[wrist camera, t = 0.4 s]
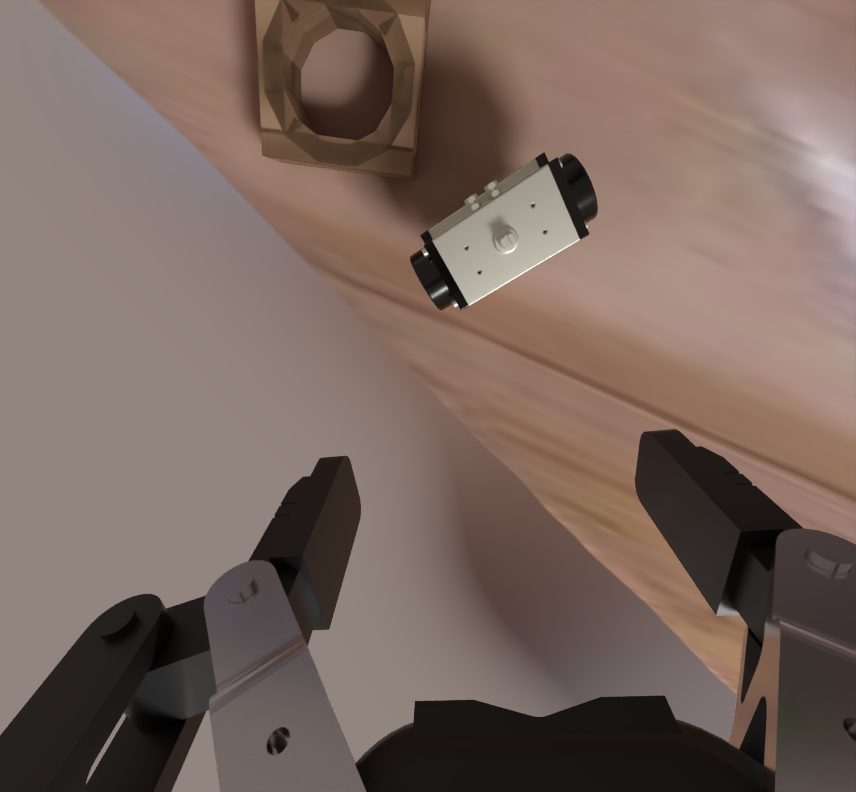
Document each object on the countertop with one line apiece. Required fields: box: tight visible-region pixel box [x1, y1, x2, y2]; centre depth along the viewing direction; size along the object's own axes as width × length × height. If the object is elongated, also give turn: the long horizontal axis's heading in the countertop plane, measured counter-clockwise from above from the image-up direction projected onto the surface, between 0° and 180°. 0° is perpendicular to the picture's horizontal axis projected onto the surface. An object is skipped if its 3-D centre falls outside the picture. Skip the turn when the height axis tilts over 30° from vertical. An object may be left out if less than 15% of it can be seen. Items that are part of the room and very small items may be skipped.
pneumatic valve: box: [410, 153, 598, 310], centre depth 28 cm, size 6×12×12 cm, turn 122°
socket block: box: [255, 0, 431, 180], centre depth 27 cm, size 17×11×4 cm, turn 173°
